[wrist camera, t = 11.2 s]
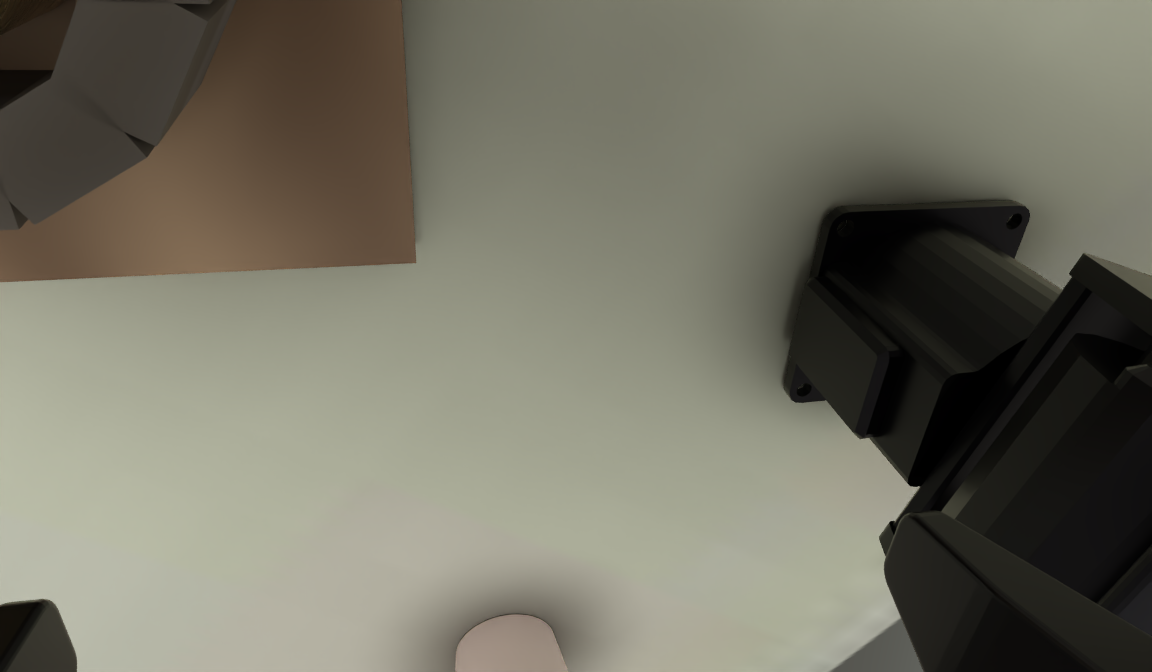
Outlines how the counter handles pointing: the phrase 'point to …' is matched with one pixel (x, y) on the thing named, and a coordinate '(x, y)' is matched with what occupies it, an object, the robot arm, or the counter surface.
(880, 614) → the counter surface
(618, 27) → the counter surface
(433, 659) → the counter surface
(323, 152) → the ring socket
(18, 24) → the brass pin
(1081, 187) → the counter surface
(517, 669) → the smoothie
